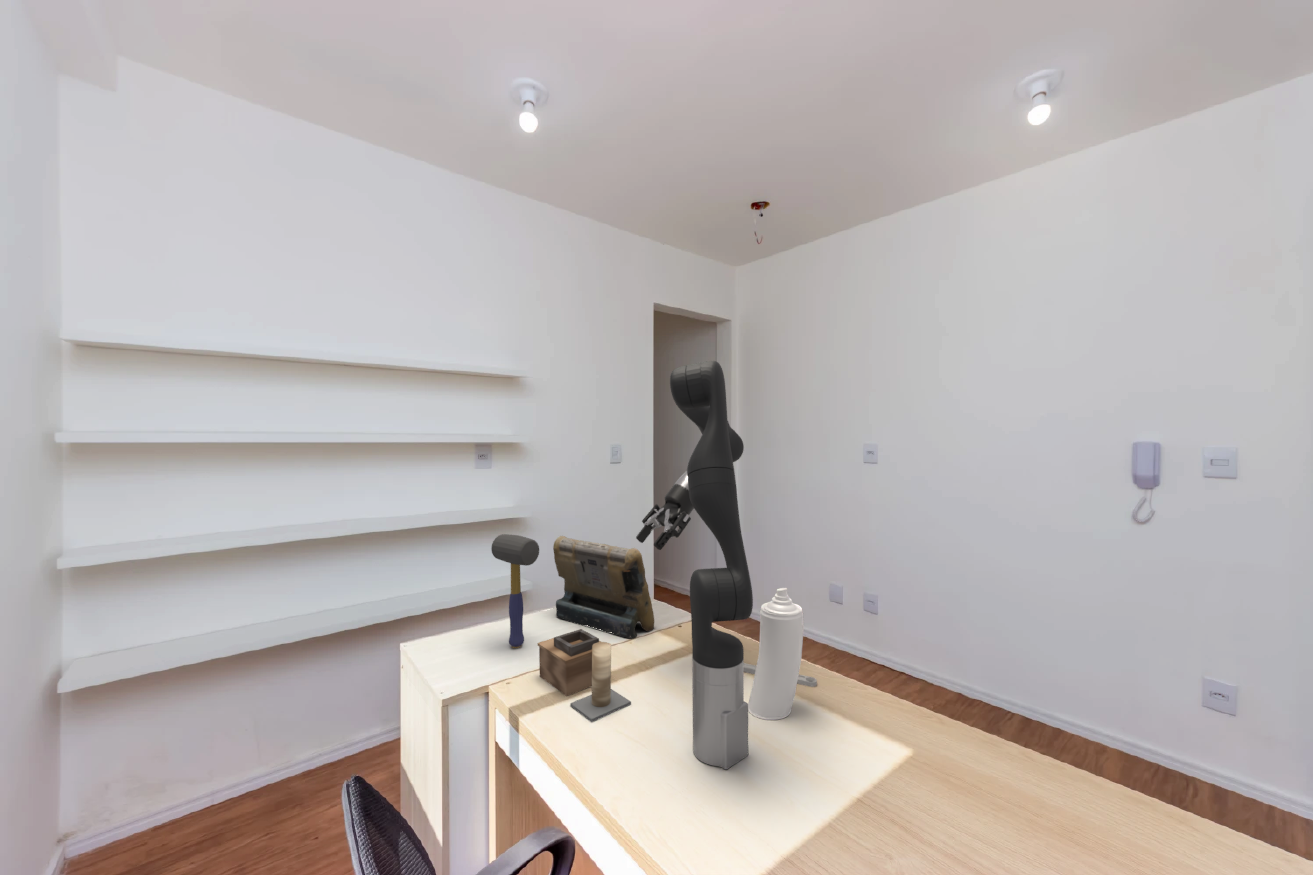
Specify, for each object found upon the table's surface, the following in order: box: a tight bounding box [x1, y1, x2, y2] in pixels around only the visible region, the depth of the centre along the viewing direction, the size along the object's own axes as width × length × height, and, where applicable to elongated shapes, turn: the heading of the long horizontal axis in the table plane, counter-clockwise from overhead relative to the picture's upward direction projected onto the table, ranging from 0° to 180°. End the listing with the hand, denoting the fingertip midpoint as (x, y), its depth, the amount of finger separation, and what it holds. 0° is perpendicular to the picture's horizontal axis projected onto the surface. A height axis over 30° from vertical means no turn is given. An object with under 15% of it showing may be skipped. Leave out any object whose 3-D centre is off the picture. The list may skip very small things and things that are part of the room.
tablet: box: [552, 535, 655, 639], centre depth 157 cm, size 33×14×25 cm, turn 60°
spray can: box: [747, 587, 805, 721], centre depth 110 cm, size 12×11×25 cm
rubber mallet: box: [490, 533, 540, 649], centre depth 140 cm, size 12×8×30 cm, turn 54°
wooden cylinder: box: [591, 641, 612, 707], centre depth 111 cm, size 4×4×12 cm
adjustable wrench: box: [744, 662, 818, 688], centre depth 124 cm, size 25×6×2 cm, turn 59°
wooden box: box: [537, 628, 602, 697], centre depth 123 cm, size 13×12×10 cm
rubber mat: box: [569, 688, 632, 723], centre depth 111 cm, size 8×10×1 cm
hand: (647, 544), depth 126 cm, fingers open, 8 cm apart
